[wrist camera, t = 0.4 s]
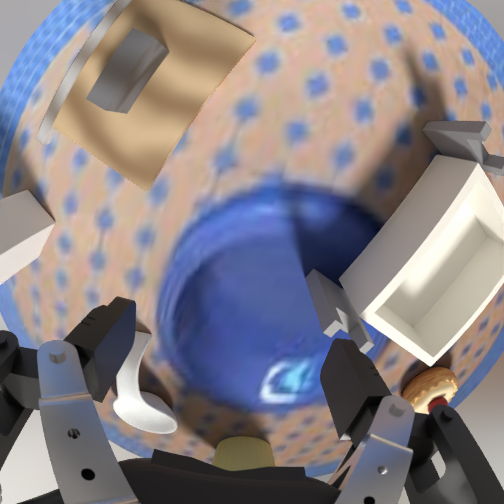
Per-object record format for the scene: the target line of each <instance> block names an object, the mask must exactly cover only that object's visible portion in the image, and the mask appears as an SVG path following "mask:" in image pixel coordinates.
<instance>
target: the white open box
mask: <svg viewBox="0 0 504 504" xmlns="http://www.w3.org/2000/svg"><path fill="white" fill-rule="evenodd" d="M422 131H423V132H424V133H425V134H426V135H427V137H428V138H429V139H430V140H431V141H432V143H433V144H434V145H435V146H436V147H437V149H438V150H439V151H440V152H441V154H442V155H443V156H442V155H436V156H435V157H434V159H433V160H432V162H431V163H430V165H429V166H428V167H427V169H426V170H425V172H424V173H423V174H422V176H421V177H420V179H419V180H418V181H417V183H416V184H415V186H414V187H413V188H412V190H411V191H410V192H409V194H408V195H407V196H406V198H405V199H404V200H403V202H402V203H401V204H400V206H399V207H398V208H397V209H396V211H395V212H394V213H393V215H392V216H391V217H390V218H389V220H388V221H387V222H386V223H385V225H384V226H383V227H382V228H381V230H380V231H379V232H378V233H377V235H376V236H375V237H374V238H373V239H372V241H371V242H370V243H369V244H368V245H367V247H366V248H365V249H364V250H363V251H362V253H361V254H360V255H359V256H358V257H357V258H356V260H355V261H354V262H353V263H352V264H351V265H350V267H349V268H348V269H347V270H346V271H345V272H344V273H343V274H342V276H341V277H340V278H339V281H340V283H341V285H342V286H343V288H344V290H343V289H342V288H340V287H339V286H338V285H336V284H335V283H334V282H332V281H331V280H329V279H328V278H327V277H325V276H324V275H323V274H321V273H320V272H318V271H317V270H316V269H314V268H313V270H312V271H311V272H310V273H309V274H308V275H307V276H306V278H305V279H306V282H307V285H308V288H309V291H310V294H311V297H312V300H313V303H314V306H315V309H316V312H317V315H318V318H319V321H320V325H321V328H322V331H323V333H325V334H326V335H328V336H330V337H332V336H333V335H334V334H335V333H336V332H337V331H338V330H339V329H342V330H344V331H345V332H347V333H348V334H349V336H350V338H351V340H353V341H354V342H355V343H356V345H357V347H358V348H359V350H360V352H363V353H364V354H365V353H366V352H367V351H368V350H369V349H371V348H372V347H373V346H374V343H373V341H372V339H371V338H370V336H369V334H368V332H367V330H366V328H365V326H364V324H363V322H362V320H361V318H362V319H363V320H365V321H366V322H368V323H369V324H370V325H372V326H373V327H375V328H376V329H378V330H379V331H380V332H382V333H383V334H385V335H386V336H388V337H389V338H390V339H392V340H393V341H395V342H396V343H398V344H399V345H400V346H402V347H403V348H405V349H406V350H407V351H409V352H410V353H412V354H413V355H415V356H416V357H417V358H419V359H420V360H422V361H423V362H424V363H426V364H427V365H429V366H430V367H431V366H432V365H433V364H434V363H435V362H436V361H437V360H438V359H439V358H440V357H441V356H442V355H443V354H444V353H445V352H446V351H447V350H448V349H449V348H450V347H451V346H452V345H453V344H454V343H455V342H456V341H457V339H458V338H459V337H460V336H461V335H462V334H463V333H464V332H465V331H466V330H467V328H468V327H469V326H470V325H471V324H472V323H473V321H474V320H475V319H476V318H477V317H478V316H479V314H480V313H481V312H482V311H483V309H484V308H485V307H486V306H487V304H488V303H489V302H490V300H491V299H492V298H493V297H494V295H495V294H496V293H497V291H498V290H499V288H500V287H501V286H502V284H503V283H504V207H503V205H502V203H501V201H500V199H499V197H498V195H497V194H496V192H495V190H494V188H493V186H492V185H491V183H490V181H489V179H488V178H487V176H486V174H485V173H484V171H487V172H491V173H494V174H498V175H501V176H504V157H500V156H495V155H490V154H488V152H487V150H486V149H485V147H484V146H483V144H482V142H481V141H486V139H487V138H488V136H489V134H490V132H491V128H490V127H489V125H488V123H487V122H482V121H428V122H427V124H426V125H425V127H424V128H423V129H422Z"/></svg>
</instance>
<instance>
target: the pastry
mask: <svg viewBox="0 0 504 504" xmlns="http://www.w3.org/2000/svg"><path fill="white" fill-rule="evenodd" d="M457 390H458V380H457V378H456V376H455V374H454V373H453V372H452V371H451V370H449V369H447V368H444V367H433V368H429V369H427V370H425V371H423V372H422V373H420V374H419V375H417V376H416V377H415V378H413V379H412V380H411V381H410V382H409V383H408V385H407V386H406V387H405V389H404V392H403V396H402V398H404V399H405V400H407V401H408V402H409V403H410V404H411V405H412V406H413V408H414V410H415V412H418V413H424V414H429V413H430V412H431V410H432V409H433V408H434V406H436V405H439V404H443V405H447V406H448V402H450V401H451V399H452V397H454V396H455V393H456V391H457Z"/></svg>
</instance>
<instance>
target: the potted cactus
mask: <svg viewBox="0 0 504 504" xmlns="http://www.w3.org/2000/svg"><path fill="white" fill-rule="evenodd" d="M212 465H213V466H216V467H219V468H222V469H225V470H229V471H238V470H247V469H255V468H262V467H268V466H273V467H275V462H274V458H273V453H272V449H271V446H270V444H269V443H268V442H266V441H264V440H262V439H259V438H254V437H246V436H238V437H230V438H227V439H224V440H222V441H220V442H219V443H218V446H217V448H216V452H215V455H214V458H213V462H212Z"/></svg>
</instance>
